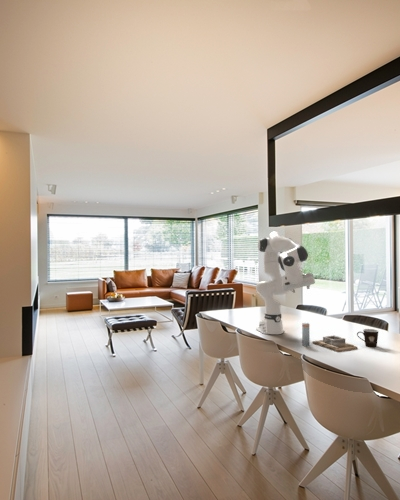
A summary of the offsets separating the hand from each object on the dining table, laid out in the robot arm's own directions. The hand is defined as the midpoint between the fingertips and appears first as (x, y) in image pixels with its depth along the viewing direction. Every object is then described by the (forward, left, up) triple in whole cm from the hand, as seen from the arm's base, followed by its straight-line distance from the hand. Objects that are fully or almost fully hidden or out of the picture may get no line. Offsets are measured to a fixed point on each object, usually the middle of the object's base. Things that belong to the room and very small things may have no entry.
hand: (301, 290), depth 220 cm
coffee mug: (+20, +37, -36) cm, 55 cm away
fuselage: (+2, +2, -36) cm, 36 cm away
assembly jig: (+11, +17, -36) cm, 41 cm away
